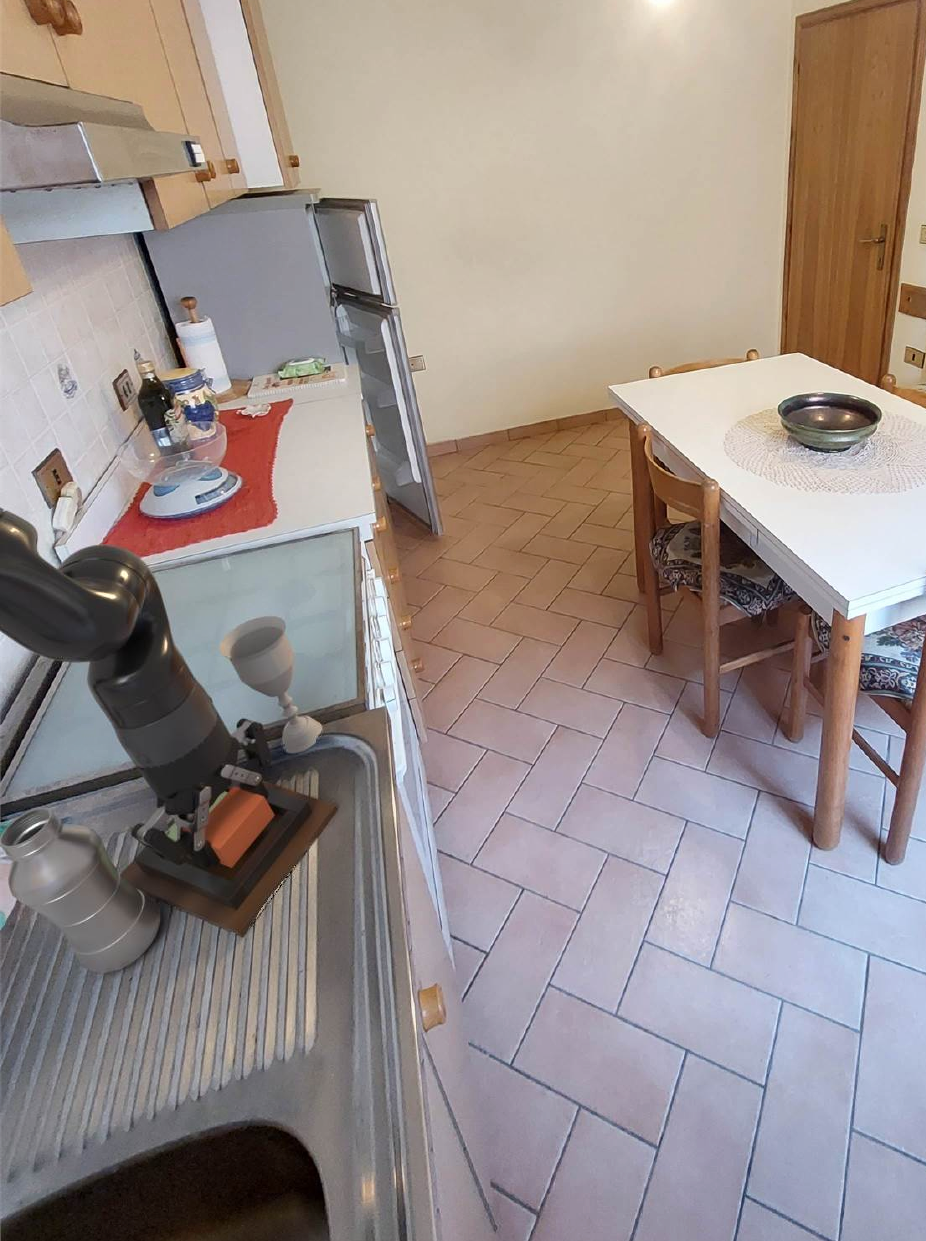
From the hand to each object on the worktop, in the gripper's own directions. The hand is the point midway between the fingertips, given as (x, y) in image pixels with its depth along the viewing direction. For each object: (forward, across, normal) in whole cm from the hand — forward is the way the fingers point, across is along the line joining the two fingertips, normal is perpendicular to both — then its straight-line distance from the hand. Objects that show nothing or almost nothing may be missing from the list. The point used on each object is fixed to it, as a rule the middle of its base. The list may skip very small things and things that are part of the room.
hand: (236, 832), depth 73 cm
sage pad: (+3, 0, -5) cm, 6 cm away
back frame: (+4, 0, -2) cm, 4 cm away
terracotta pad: (+1, 0, 0) cm, 1 cm away
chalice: (+4, -14, -5) cm, 16 cm away
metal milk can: (+4, +11, -4) cm, 12 cm away
